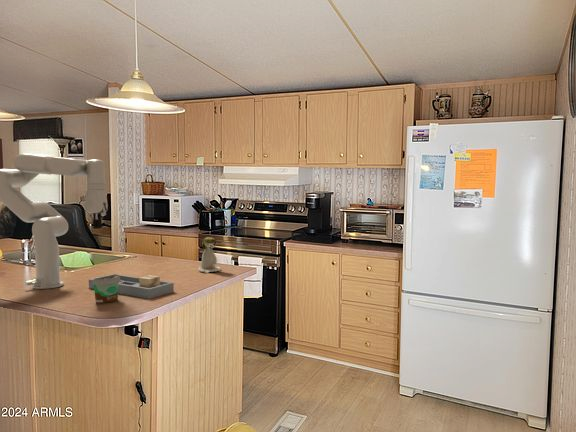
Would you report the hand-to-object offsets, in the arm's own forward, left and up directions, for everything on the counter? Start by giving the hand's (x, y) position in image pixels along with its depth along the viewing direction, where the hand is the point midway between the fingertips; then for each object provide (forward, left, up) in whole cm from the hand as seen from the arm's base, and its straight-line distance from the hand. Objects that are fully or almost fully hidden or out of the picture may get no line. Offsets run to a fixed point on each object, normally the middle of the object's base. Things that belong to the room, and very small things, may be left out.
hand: (97, 228), depth 201 cm
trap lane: (+4, -16, -27) cm, 32 cm away
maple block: (+4, -28, -25) cm, 38 cm away
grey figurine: (+56, -19, -27) cm, 65 cm away
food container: (-14, -25, -27) cm, 40 cm away
